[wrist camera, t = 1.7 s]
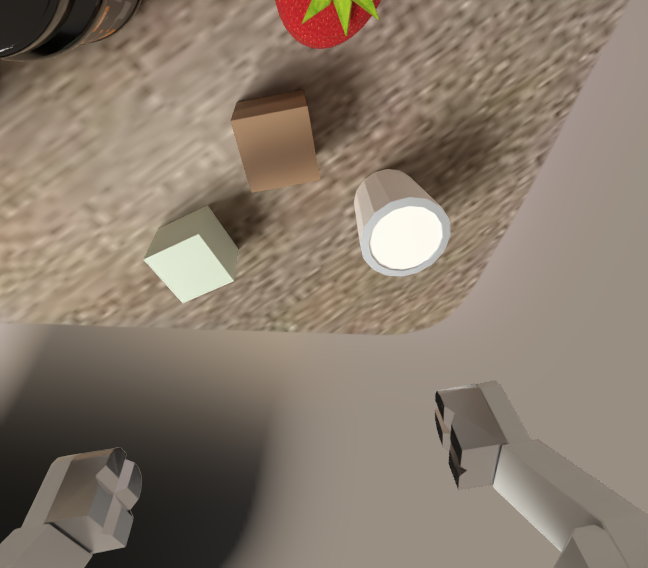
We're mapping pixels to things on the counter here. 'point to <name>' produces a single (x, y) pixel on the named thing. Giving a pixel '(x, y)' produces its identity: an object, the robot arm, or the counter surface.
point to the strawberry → (325, 19)
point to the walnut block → (275, 141)
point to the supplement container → (58, 25)
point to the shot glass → (399, 224)
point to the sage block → (193, 255)
